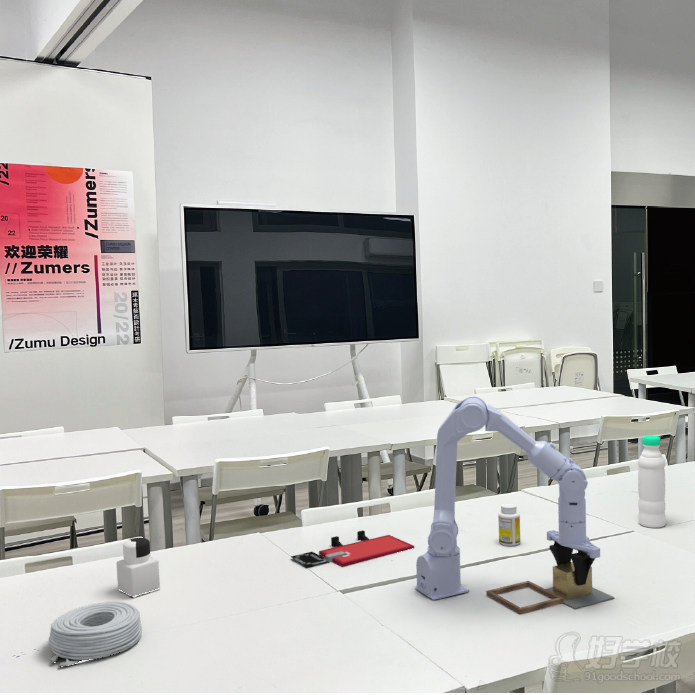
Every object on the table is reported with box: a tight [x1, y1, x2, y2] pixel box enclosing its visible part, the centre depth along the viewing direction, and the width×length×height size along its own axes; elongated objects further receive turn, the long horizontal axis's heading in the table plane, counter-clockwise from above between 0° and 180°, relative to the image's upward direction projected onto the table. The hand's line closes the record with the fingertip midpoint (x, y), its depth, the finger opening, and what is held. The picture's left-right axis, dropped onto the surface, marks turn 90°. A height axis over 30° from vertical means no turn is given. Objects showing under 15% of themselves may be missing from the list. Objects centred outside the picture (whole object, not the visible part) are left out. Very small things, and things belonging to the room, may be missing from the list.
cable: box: [48, 601, 143, 668], centre depth 151 cm, size 18×18×6 cm
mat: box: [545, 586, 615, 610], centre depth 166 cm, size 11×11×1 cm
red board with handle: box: [290, 530, 415, 568], centre depth 198 cm, size 30×3×15 cm
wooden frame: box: [486, 580, 564, 615], centre depth 165 cm, size 12×12×1 cm
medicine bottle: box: [115, 537, 161, 596], centre depth 177 cm, size 7×7×12 cm
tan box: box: [552, 561, 593, 600], centre depth 166 cm, size 7×4×6 cm, turn 116°
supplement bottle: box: [497, 503, 521, 547], centre depth 201 cm, size 6×6×10 cm
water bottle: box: [637, 434, 666, 529], centre depth 212 cm, size 7×7×25 cm
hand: (573, 580), depth 166 cm, fingers closed on tan box, 4 cm apart
